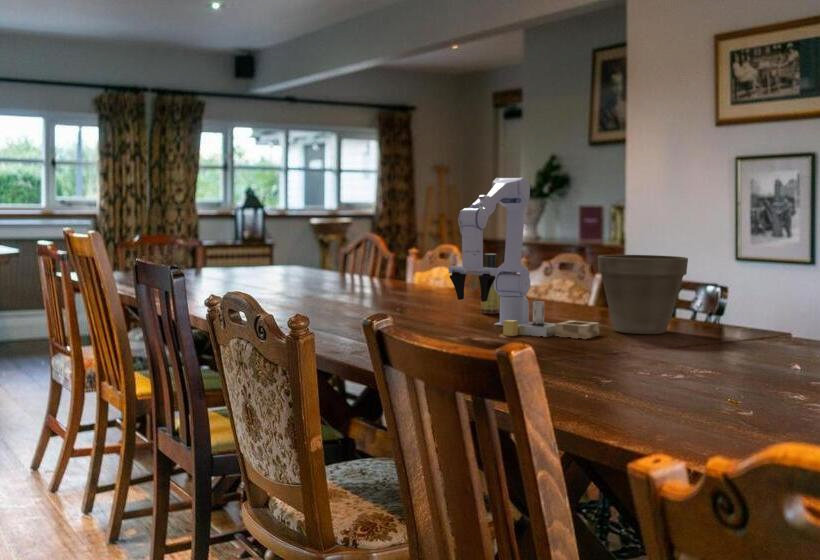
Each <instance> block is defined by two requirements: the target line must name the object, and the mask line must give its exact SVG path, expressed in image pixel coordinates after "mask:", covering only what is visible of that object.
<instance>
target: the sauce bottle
mask: <svg viewBox="0 0 820 560" xmlns="http://www.w3.org/2000/svg"><path fill="white" fill-rule="evenodd" d="M497 258H498V254H497V253H484V255H483V259H484V267H488V268H497ZM481 276H483V275H481ZM494 276H496V275H494ZM480 308H481V313H482V314H483V315H484V314H485V315H496V314H500V295H498V293H497V292H496V291H495V289H494V282H493V284H492V286H491V288H490V291H489V295H488V299H487V301H484V302H482V301H481V300H480Z"/></svg>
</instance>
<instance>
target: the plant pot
mask: <svg viewBox="0 0 820 560" xmlns="http://www.w3.org/2000/svg"><path fill="white" fill-rule="evenodd" d="M688 261H689V258H688V257H685V256H678V255H677V256H676V255H675V256H674V255H673V256H672V255H661V254H660V255H657V254H654V255H653V254H652V255H651V254H603V255H598V256H597V267H598V269H597V270H598V274H601V279H602V283H603V287H604V292H605V296H606V301H607V306H608V309H609V314H610V320H611V324H612V327H613V330H614V331H615V332H619V333H625V334H631V335H632V334H633V335H635V334H636V335H660V334H665V333H666V332H667V330H668V327H669V324H670V321H671V319H672V315H673V312H674V309H675V306H676V303H677V302H676V301H677V299H678V295H679V292H680V289H681V286H682V282H683V277H684V276H686V275H687V272H688V271H687V270H688V264H689V263H688Z"/></svg>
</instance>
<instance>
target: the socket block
mask: <svg viewBox="0 0 820 560" xmlns="http://www.w3.org/2000/svg"><path fill="white" fill-rule="evenodd" d="M555 324H556V323H554V322H553V323H552V322H551V323H550V322H544V326H535V325H533V321H529V322H527V323H522V324H518V335H519V336H530V335H531V336H532V337H540V336H543V337H542V338H548V337H552V336H555ZM518 335H517V336H518ZM531 336H530V337H531Z"/></svg>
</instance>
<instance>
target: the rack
mask: <svg viewBox="0 0 820 560" xmlns="http://www.w3.org/2000/svg"><path fill="white" fill-rule="evenodd" d="M554 324H555V335H554V336H555V337H556V336H559V337H558V338H567V337H571V339H578V338H582V340H587V338H588V339H591V338H595V337H598V336H600V322H596V321H595V322H593V321H584V320H583V321H581V320H580V321H579V320H567V321H566V320H565V321H562V322H557V323H554Z"/></svg>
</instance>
